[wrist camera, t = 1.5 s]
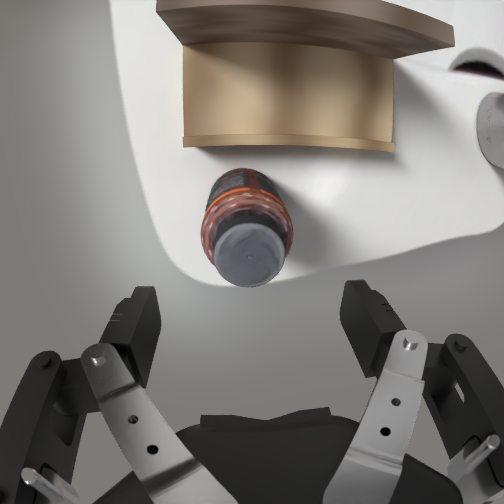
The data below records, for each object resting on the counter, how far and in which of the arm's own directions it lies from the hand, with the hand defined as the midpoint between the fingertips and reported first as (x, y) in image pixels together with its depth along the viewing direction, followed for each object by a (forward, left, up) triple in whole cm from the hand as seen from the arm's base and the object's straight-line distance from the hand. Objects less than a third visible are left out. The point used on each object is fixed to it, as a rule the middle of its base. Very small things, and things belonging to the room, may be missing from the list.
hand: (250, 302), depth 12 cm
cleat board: (-4, -11, -16) cm, 20 cm away
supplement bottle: (0, 0, -16) cm, 16 cm away
